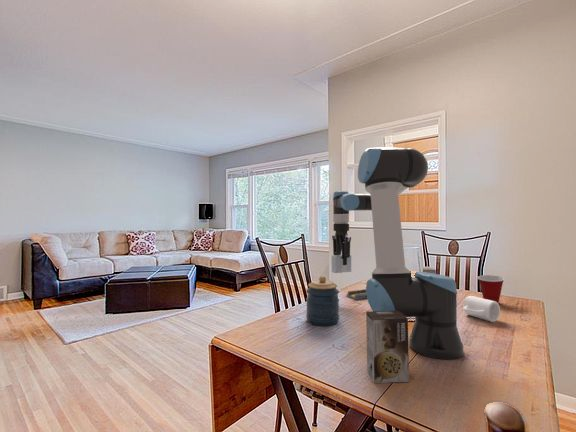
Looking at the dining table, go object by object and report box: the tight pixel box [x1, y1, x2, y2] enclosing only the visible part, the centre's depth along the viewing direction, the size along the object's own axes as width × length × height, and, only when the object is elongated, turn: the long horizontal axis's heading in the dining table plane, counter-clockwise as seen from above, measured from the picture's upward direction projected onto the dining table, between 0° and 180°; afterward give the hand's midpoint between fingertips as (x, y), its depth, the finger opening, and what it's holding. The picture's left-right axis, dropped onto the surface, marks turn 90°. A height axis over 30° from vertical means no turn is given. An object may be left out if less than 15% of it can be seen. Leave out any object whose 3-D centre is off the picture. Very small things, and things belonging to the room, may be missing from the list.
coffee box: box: [365, 310, 410, 384], centre depth 79 cm, size 9×6×16 cm
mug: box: [462, 295, 501, 323], centre depth 121 cm, size 12×10×8 cm
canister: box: [305, 275, 340, 327], centre depth 120 cm, size 13×13×18 cm
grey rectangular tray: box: [346, 288, 368, 301], centre depth 156 cm, size 17×8×2 cm, turn 113°
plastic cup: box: [476, 274, 505, 304], centre depth 144 cm, size 11×11×12 cm
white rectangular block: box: [331, 254, 352, 274], centre depth 148 cm, size 9×4×8 cm, turn 113°
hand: (341, 270), depth 148 cm, fingers closed on white rectangular block, 3 cm apart
